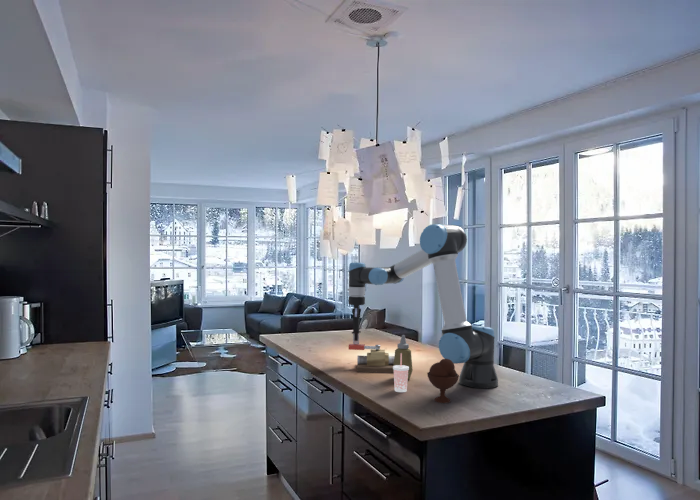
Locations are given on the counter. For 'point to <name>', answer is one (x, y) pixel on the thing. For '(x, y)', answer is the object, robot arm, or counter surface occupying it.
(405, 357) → the squeeze bottle
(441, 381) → the ice cream bowl
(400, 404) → the counter surface
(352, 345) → the lever
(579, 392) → the counter surface
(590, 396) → the counter surface
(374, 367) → the valve board
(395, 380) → the beverage cup
